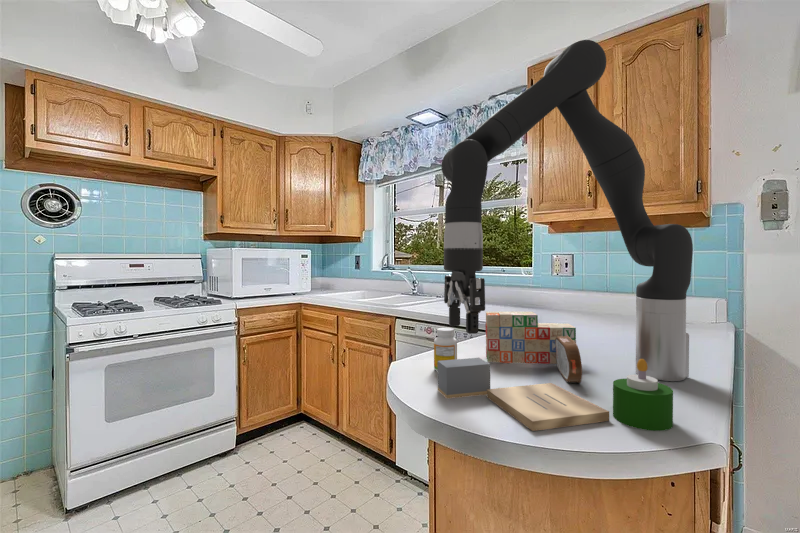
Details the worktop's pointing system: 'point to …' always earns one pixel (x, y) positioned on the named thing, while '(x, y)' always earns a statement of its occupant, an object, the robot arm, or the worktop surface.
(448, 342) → the supplement bottle
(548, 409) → the board
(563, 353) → the tin
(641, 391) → the candle
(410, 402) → the worktop surface
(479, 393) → the block
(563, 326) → the stack of blocks
